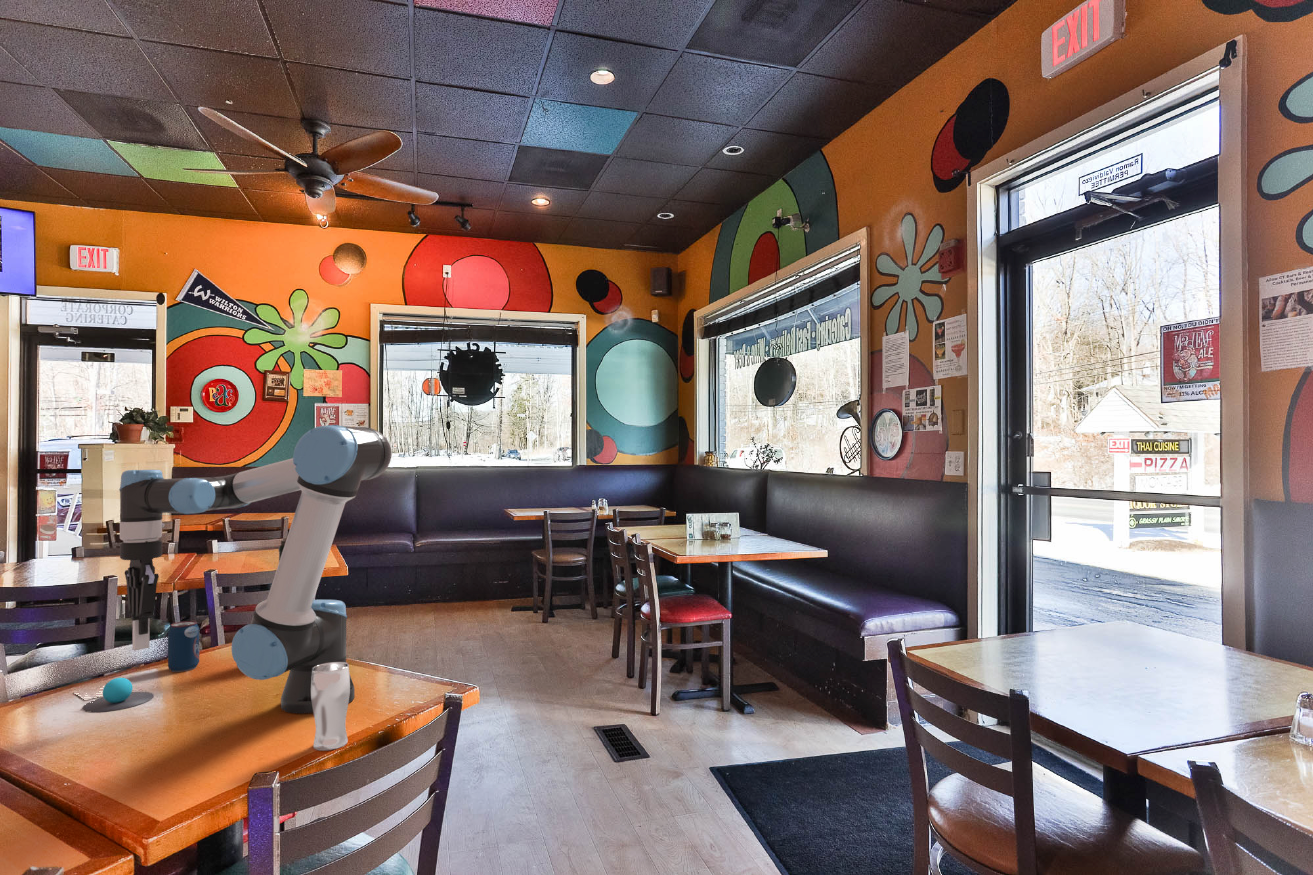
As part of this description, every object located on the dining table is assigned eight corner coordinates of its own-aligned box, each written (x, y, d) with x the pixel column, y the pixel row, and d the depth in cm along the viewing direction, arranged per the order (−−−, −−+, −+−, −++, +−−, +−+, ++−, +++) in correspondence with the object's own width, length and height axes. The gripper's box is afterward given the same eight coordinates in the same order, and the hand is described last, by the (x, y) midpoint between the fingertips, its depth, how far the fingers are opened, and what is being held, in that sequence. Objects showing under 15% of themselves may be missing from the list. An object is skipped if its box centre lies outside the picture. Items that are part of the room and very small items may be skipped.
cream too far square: (131, 690, 172) (131, 689, 172) (84, 700, 165) (84, 699, 165) (118, 683, 178) (118, 682, 178) (73, 693, 171) (73, 692, 171)
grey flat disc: (162, 699, 165) (162, 698, 165) (93, 716, 155) (93, 715, 155) (142, 688, 173) (142, 688, 173) (75, 704, 163) (75, 703, 163)
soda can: (202, 668, 190) (202, 622, 190) (171, 674, 185) (172, 627, 185) (195, 663, 194) (195, 618, 195) (164, 669, 189) (165, 623, 190)
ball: (134, 703, 165) (137, 681, 164) (105, 710, 161) (107, 687, 160) (127, 692, 168) (129, 670, 167) (98, 699, 164) (100, 676, 163)
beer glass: (324, 754, 134) (324, 674, 134) (303, 747, 138) (303, 668, 138) (357, 741, 140) (357, 664, 140) (336, 734, 143) (335, 659, 144)
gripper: (172, 540, 156) (172, 649, 155) (150, 536, 163) (150, 640, 163) (131, 544, 150) (130, 657, 149) (110, 539, 157) (110, 647, 157)
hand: (141, 648), depth 156 cm, fingers closed
